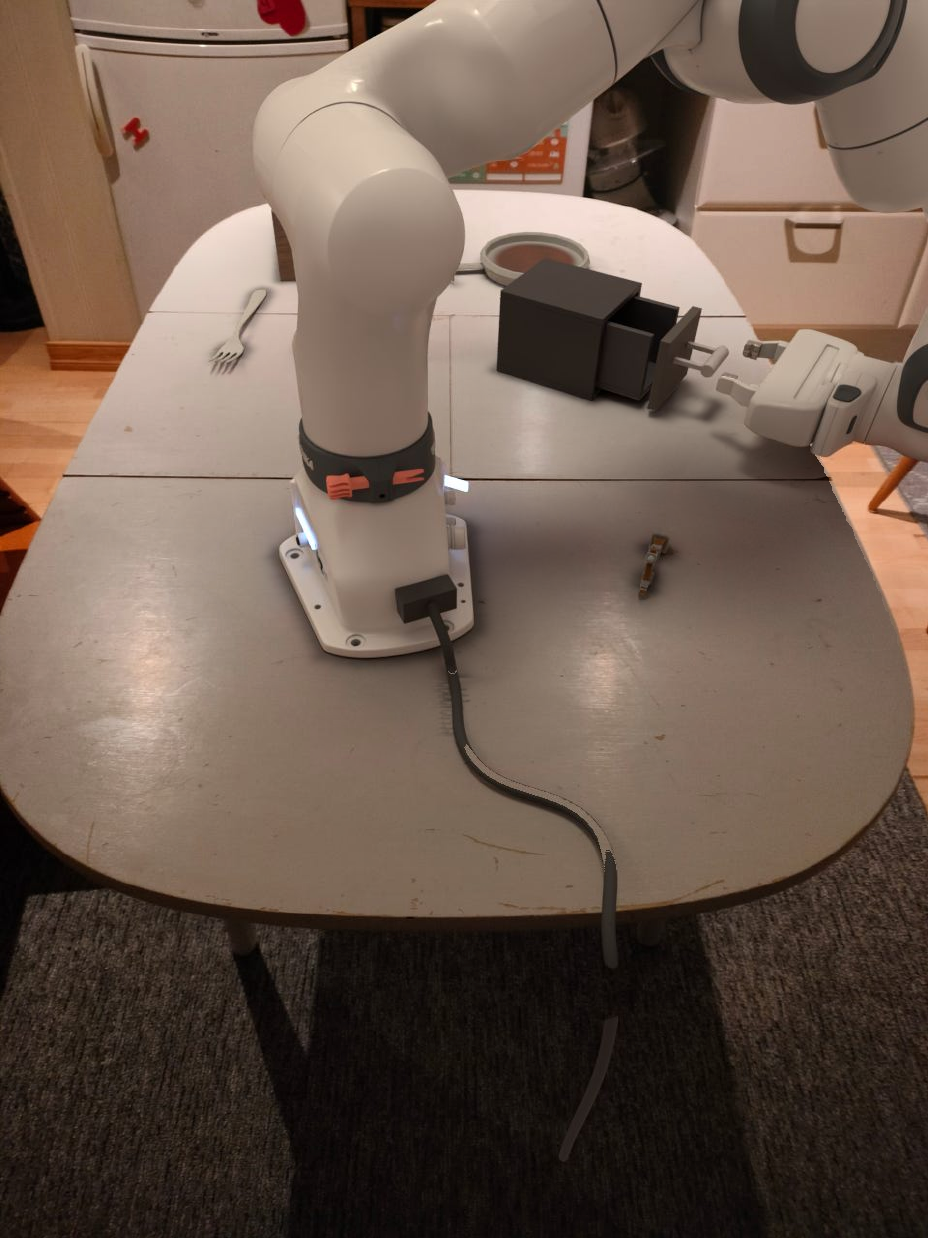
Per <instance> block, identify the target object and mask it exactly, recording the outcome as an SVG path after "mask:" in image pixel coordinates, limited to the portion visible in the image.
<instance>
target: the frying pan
mask: <svg viewBox="0 0 928 1238" xmlns="http://www.w3.org/2000/svg"><path fill="white" fill-rule="evenodd" d="M543 258H547V259H551V260H555V261H559V262H563V263H567V264H570V265H574V266H578V267H582V268H586V269H588V268H589V265H590V264H591V260H590V255H589V253H588V250H587V249H586V248H585V247H584V246H583V245H582V244H581V243H579V242H577V241H575V240H573V239H572V238H569V237H566V236H563V235H559V234H555V233H549V232H543V231H542V232H541V231H520V232H511V233H506V234H502V235H499V236H496V237H494V238H492V239H490V240H489V241H487V242H486V243H485V245H484V246H483V247H482V249H481V250H480V252H479V260H480V262H466V263H460V265H459V267H458V270H457V271H459V270H482V269H484V272H485V274H486V275H487V277H488V278H489V279H491V280H492V281H494V282H495V283H497V284H499V285H502V286H505V287H506V286H507V285H509V284H510V283H511V282H513V281H514V280H515V279H517V278H518V277H519V276H521V275H522V274H523V273H525V272H526V271H527V270H529V269H530V268H531V267H533V266H534V265H535V264H537V263H538V262H539V261H541V260H542V259H543ZM455 276H456V275H455ZM455 276H454V278H453V279H452V281H451V282H455Z"/></svg>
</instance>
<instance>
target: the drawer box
mask: <svg viewBox="0 0 928 1238" xmlns="http://www.w3.org/2000/svg"><path fill="white" fill-rule="evenodd" d="M642 285H643V283H642V282H640V281H636V280H632V279H628V278H625V277H620V276H617V275H612V274H609V273H605V272H602V271H598V270H594V269H590V268H587V269H586V268H582V267H578V266H574V265H570V264H567V263H563V262H559V261H555V260H551V259H547V258H543V259H542V260H541V261H539V262H538V263H537V264H535V265H534V266H533V267H531V268H530V269H529V270H527V271H526V272H525V273H523V274H522V275H521V276H519V277H518V278H517V279H515V280H514V281H513V282H511V283H510V284H509V285H507V286H505V287H504V288H502V289H501V290H500V293H499V312H498V313H499V314H498V330H497V332H498V333H497V351H496V371H497V372H500V373H503V374H507V375H511V376H513V377H516V378H519V379H522V380H525V381H528V382H532V383H535V384H538V385H540V386H541V385H542V386H545V387H547V388H551V389H554V390H557V391H560V392H564V393H566V394H569V395H573V396H576V397H579V398H582V399H585V400H588V401H593V399H595V397H596V396H598V395H599V393H600V392H602V390H603V389H601V388H598V387H596V381H597V374H598V367H599V360H600V353H601V346H602V340H603V333H604V326H605V322H606V321H608V320H609V319H610V318H611V317H612V316H613V315H614V314H615V313H616V312H617V311H618V310H619V309H620V308H621V307H622V306H623V305H625V304H626V303H627V302H628V301H629V300H630V299H631V298H632V297H633V296H634V295H636V296H640V297H641V292H642V287H643V286H642Z"/></svg>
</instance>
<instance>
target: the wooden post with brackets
mask: <svg viewBox="0 0 928 1238" xmlns="http://www.w3.org/2000/svg"><path fill="white" fill-rule="evenodd" d="M670 540H671V535H668V534H664V533H661V532H656V531H652V532H651V537H650V539H649V544H648V551H647V552H646V555H645V559H644V563H646V564H645V568H644V571H642V574H641V578H640V584H639V591H638V594H639V595H643V596H645V595H646V594H647V590H648V588H649V585H650V586H651V585H652V582H653V579H654V575H655V572H654V571H653V567H654V566H655V564H656V562H657V561H658V560H659V558H660V556H661V553H662V554H666V553H667V551H668V547H669V543H670Z"/></svg>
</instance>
